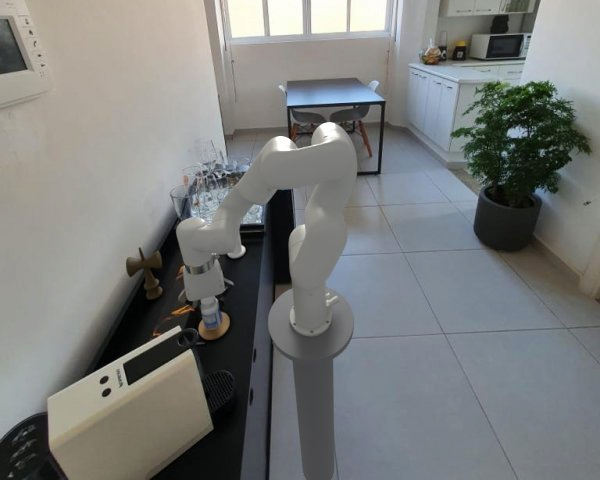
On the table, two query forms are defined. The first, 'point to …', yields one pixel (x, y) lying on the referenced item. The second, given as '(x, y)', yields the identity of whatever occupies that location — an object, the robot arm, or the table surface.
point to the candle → (237, 249)
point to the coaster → (216, 332)
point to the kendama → (146, 272)
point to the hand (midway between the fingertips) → (210, 310)
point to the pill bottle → (211, 313)
